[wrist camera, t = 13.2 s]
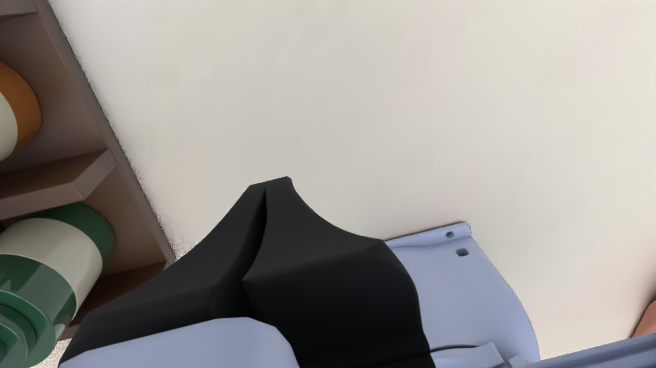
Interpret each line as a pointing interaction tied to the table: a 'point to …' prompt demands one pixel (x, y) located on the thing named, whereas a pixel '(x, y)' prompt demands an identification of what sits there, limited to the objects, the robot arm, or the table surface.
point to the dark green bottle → (47, 277)
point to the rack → (74, 156)
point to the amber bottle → (16, 112)
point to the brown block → (647, 321)
